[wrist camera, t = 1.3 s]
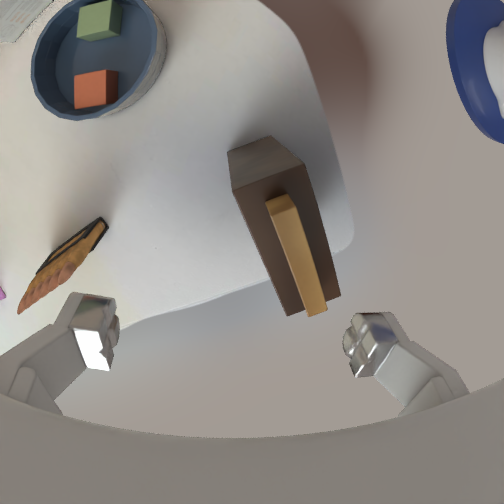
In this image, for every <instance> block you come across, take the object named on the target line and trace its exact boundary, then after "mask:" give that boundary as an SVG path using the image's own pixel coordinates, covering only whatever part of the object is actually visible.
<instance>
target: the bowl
mask: <svg viewBox="0 0 504 504" xmlns="http://www.w3.org/2000/svg"><path fill="white" fill-rule="evenodd" d="M103 1H107V0H73V1H71V2H69V3H68V4H66V5H65V6H64V7H63V8H62V9H60V10H59V11H58V12H57V13H56V14H55V15H54V16H53V17H52V18H51V19H50V21H49V22H48V23H47V25H46V26H45V28H44V30H43V31H42V33H41V35H40V36H39V38H38V40H37V43H36V46H35V49H34V52H33V55H32V60H31V80H32V84H33V88H34V92H35V95H36V96H37V98H38V99H39V101H40V102H41V103H42V105H43V106H44V108H45V109H47V110H48V111H50V112H51V113H53V114H54V115H56V116H57V117H59V118H64V119H69V120H74V121H80V120H86V119H92V118H98V117H101V116H105V115H109V114H113V113H115V112H117V111H120V110H122V109H124V108H127V107H128V106H130V105H131V104H133V103H135V102H136V101H137V100H138V99H140V98H141V97H142V96H143V95H144V94H145V93H146V92H147V91H148V90H149V89H150V87H151V86H152V85H153V83H154V82H155V80H156V79H157V77H158V75H159V73H160V72H161V69H162V66H163V64H164V60H165V56H166V49H167V44H166V35H165V31H164V28H163V26H162V23H161V21H160V20H159V19H158V17H157V16H156V15H155V14H154V13H153V12H152V10H151V9H150V8H149V7H148V6H147V5H146V4H145V2H144V1H143V0H113V1H115V2H116V3H117V4H119V5H120V6H121V7H122V8H123V10H122V19H121V30H120V36H115V37H110V38H105V39H100V40H95V41H91V42H90V41H87V40H84V39H80V38H77V27H78V19H79V11H80V7H84V6H87V5H91V4H95V3H99V2H103ZM105 69H107V70H113V71H118V100H117V101H116V102H115V103H112V104H105V105H99V106H92V107H87V108H81V109H76V110H75V103H74V76H76V75H80V74H85V73H89V72H94V71H100V70H105Z"/></svg>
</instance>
